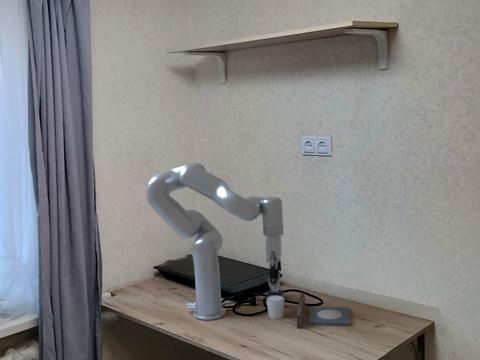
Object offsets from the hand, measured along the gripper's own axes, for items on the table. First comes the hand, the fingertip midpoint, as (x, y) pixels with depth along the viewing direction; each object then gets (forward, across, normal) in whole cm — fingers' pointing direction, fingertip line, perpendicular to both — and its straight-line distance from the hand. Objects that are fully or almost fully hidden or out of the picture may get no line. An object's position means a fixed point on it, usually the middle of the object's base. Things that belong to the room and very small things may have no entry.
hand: (275, 274), depth 202 cm
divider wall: (+16, 0, +9) cm, 19 cm away
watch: (+16, -18, -3) cm, 24 cm away
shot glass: (+16, 0, -1) cm, 16 cm away
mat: (+16, 0, +19) cm, 25 cm away
